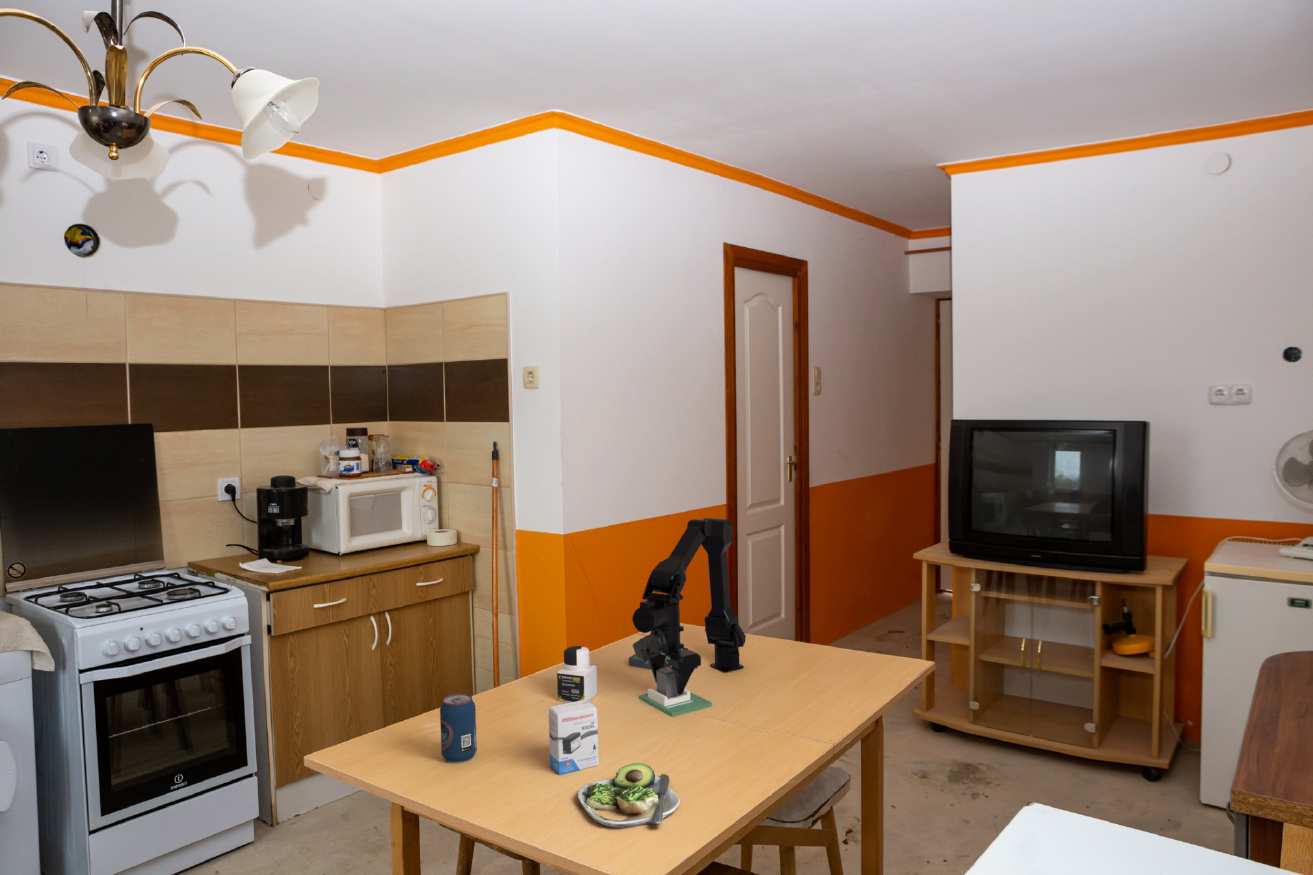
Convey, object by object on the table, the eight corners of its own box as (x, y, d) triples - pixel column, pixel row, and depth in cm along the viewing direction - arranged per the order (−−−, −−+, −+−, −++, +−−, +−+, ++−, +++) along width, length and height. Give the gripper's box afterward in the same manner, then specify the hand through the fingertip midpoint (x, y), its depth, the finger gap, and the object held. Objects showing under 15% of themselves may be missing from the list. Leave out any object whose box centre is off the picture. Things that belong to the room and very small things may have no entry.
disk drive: (655, 652, 244) (628, 667, 231) (655, 642, 244) (627, 656, 231) (688, 657, 239) (662, 673, 226) (688, 647, 239) (662, 662, 226)
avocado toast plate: (703, 823, 148) (703, 797, 147) (602, 845, 141) (601, 817, 141) (661, 777, 166) (661, 753, 165) (570, 794, 159) (569, 769, 159)
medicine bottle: (557, 701, 206) (555, 650, 205) (571, 691, 213) (570, 642, 212) (584, 704, 203) (583, 653, 203) (597, 694, 210) (596, 645, 209)
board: (639, 698, 207) (638, 686, 206) (677, 688, 213) (677, 677, 212) (672, 716, 195) (671, 704, 195) (712, 706, 201) (711, 694, 201)
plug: (657, 697, 205) (656, 668, 204) (673, 693, 207) (672, 665, 207) (666, 702, 201) (665, 673, 201) (682, 698, 204) (682, 669, 203)
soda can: (436, 756, 176) (433, 697, 176) (467, 747, 180) (465, 689, 180) (450, 767, 171) (448, 707, 170) (483, 758, 175) (481, 699, 174)
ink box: (558, 775, 166) (556, 714, 166) (549, 765, 171) (547, 706, 170) (599, 765, 170) (598, 706, 170) (589, 756, 175) (588, 698, 174)
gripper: (617, 619, 206) (618, 684, 207) (660, 637, 191) (661, 707, 192) (656, 611, 212) (658, 675, 213) (701, 628, 197) (703, 697, 198)
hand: (668, 688), depth 204 cm, fingers open, 9 cm apart
